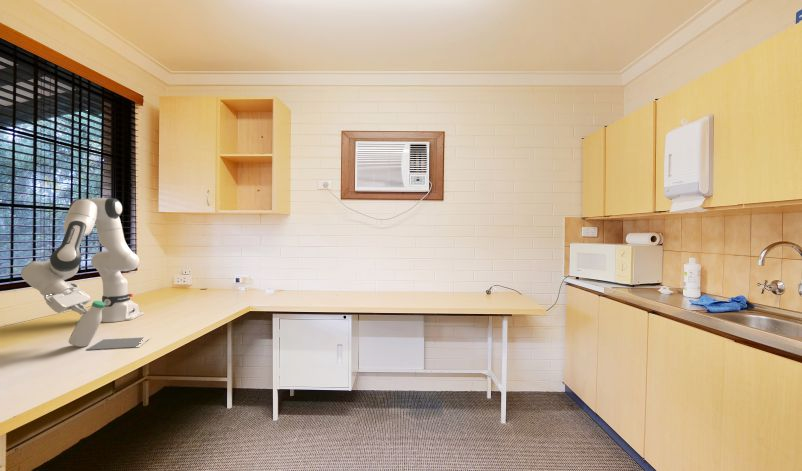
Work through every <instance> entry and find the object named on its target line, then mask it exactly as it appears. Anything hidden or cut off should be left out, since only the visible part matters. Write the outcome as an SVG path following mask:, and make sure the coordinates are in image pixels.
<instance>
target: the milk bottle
mask: <svg viewBox="0 0 802 471" xmlns="http://www.w3.org/2000/svg"><path fill="white" fill-rule="evenodd" d="M104 307H105V303H104V302H102V300H94V301H93V302H92V304H91V307H90V308H89V309H87V310H88V311H87V312H85V313H84V314H82V315H80V318H79V320H78V321H77V323H76V325H75V327H74V329H73V330H72V333H71V335H70V337H69V339H68V344H69V345H71V346H74V347H79V348H80V347H87V346H89V345H90V343H91V342H92V340H93V338H94V337H95V335H96V332H97V330H98V329H99V327H100V325H101V323H102V322H101V320H102V309H103V308H104Z"/></svg>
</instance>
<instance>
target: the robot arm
mask: <svg viewBox="0 0 802 471" xmlns="http://www.w3.org/2000/svg"><path fill="white" fill-rule="evenodd" d="M122 204H123V203H121V201H120V200H119V199H118V198H113V197H107V198H106V197H94V198H79V199H76V200H73V201H71V203H70V205H69V207H68V208H69V209H68V211H67V213H66V216H65V219H64V222H63V231H64V232H65V234H64V236H63V239H62V242H61V244H60V245H59V247H57V248H56V249H55V250H54V251H53V252H52V253H51V254H50V257H49V259H48V260H45V261H44V260H43V261H42V260H41V261H39V260H38V261H37V260H33V261H31V262H29V263H27V265H24V267H23V268H22V269H21V272H20V277H21V278H22V279H23V280H24V281H25V283H26V284H28V285H29V286H30V287H32V289H36V290H37V291H39V293H40V294H41V295H42V296H43V298H44V300H45V303H46V305H47V306H48V307H49V308H51V310H53V312H56V313H57V314H58V313H60V314H61V313H64V312H66V311H69V310H71V311H73V312H76V313H78V314H79V315H80V316H82V315H83V314H84V313H85V312H87V311H88V310H89V309H87V308H86V306H85V305H87V304H88V303H89V302H90V301H91V300H92V298H91V296H90V295H89V294H88V293H87V292H86V291H84V290H83V289H81V288H80V286H79V285H78V284H77V283H70V282H66V281H67V280H68V279H69V280H70V278H72V277H74V276H75V275H77V273H78V271H79V269H80V264H81V261H82V253H81V251H80V250H81V249H80V248H81V245H82V241H83V238H84V237H86V236H88V235H90V234H91V232H92V231H93V229H94V228H95V226H96V232H97V237H98V242H99V244H100V245H101V246H103V247H104V248H105V249H106V251H100V252H97V253H95V254H93V255H92V257H91V260H90V261H91V262H90V263H91V265H92V267H93V268H94V269H96V271H97V272H98V274H99V275H100V278H101V281H102V297H101V301H102V302H104V303H105V307H104V308H103V309H102V320H101V323H115V322H122V321H123V322H125V321H132V320H134V319H136V318H138V317H140V316H142V315H144V314H145V312H144V311H140V306H139V304H138V303H136V302H135V301H133V300H131V298H133V297H134V293H129V290H128V289H129V288H128V287H129V283H128V282H129V281H128V279H127V278H125V277H124V276H123V274H122V272H129V271H134V270H136V269H137V268H138V267H139V266H140V263H141V262H140V261H141V260H140V257H139V256H138V254H136V253H135V252H133V250H131V248H130V247H129V246H128V244H127V242H126V239H125V234H124V230H123V225H122V223H121V222H122V221H121V218H120V216H121V214H122V213H123V205H122Z"/></svg>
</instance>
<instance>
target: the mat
mask: <svg viewBox="0 0 802 471" xmlns="http://www.w3.org/2000/svg"><path fill="white" fill-rule="evenodd" d="M144 337H145V336H144ZM144 337H126V338H108V339H107V338H106V339H102V340H100V341H99V342H97V343H95V344H93V345H92V346H89V347H88V348H86V349H85V350H86V351H99V350H100V349H104V350H114V349H115V348H121V349H127V348H126V347H136V346H138V345H139V344H141V343H139V342H141V340H142V339H143V338H144ZM142 341H143V340H142ZM115 350H116V349H115ZM100 351H101V350H100Z"/></svg>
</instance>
